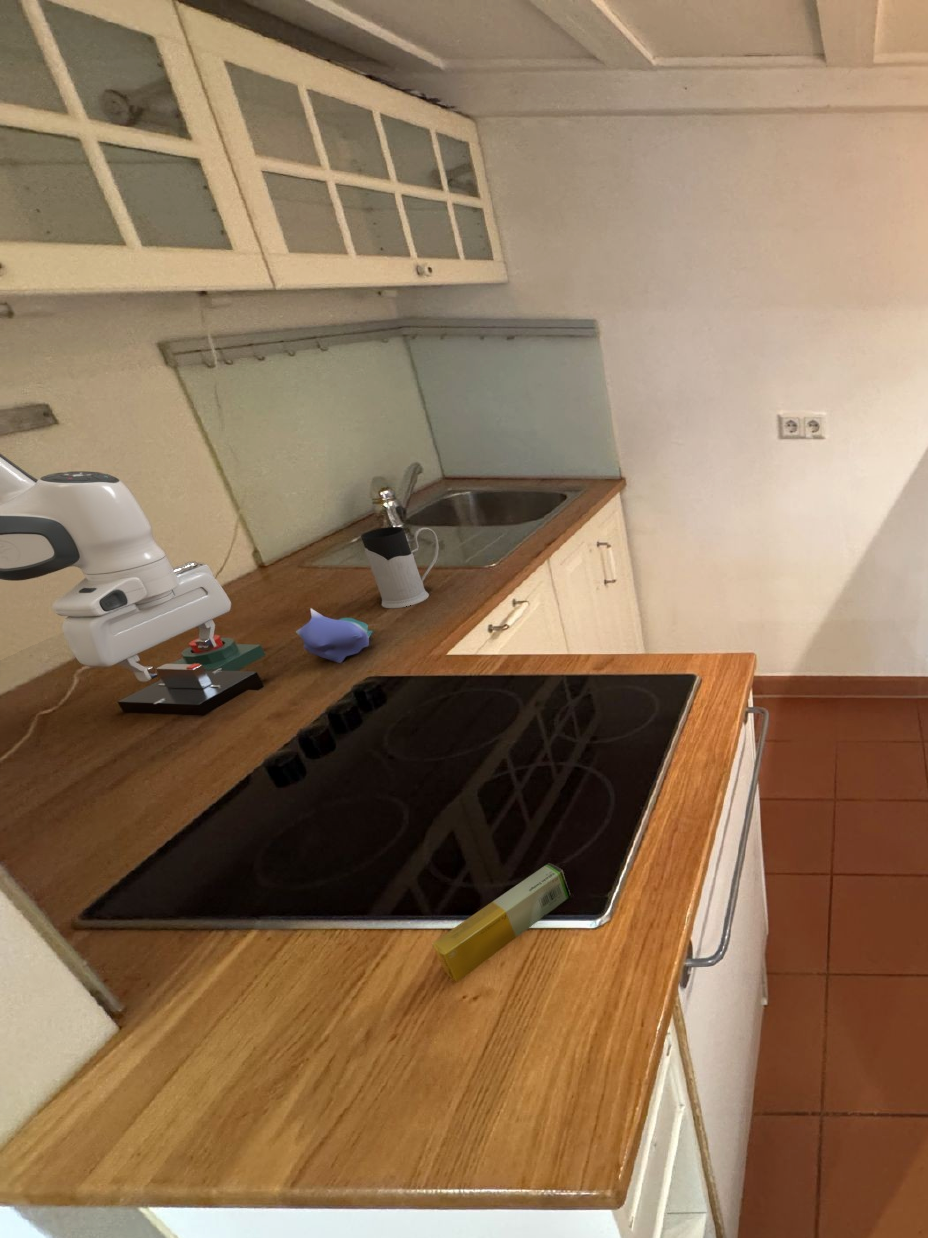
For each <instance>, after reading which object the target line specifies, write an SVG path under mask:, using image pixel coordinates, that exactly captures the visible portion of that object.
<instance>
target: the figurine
mask: <svg viewBox="0 0 928 1238" xmlns="http://www.w3.org/2000/svg"><path fill="white" fill-rule="evenodd" d="M310 615H311V617H310V619H309V621H308V622H307V623H306V624H305V625H303V626H302V627H300V628H298V629H297V630H295V633H296V634H297V636H299V637H300V638H301V639H302V642H303V646H302V647H303V648H304V650H305V651H306V652H308V653H309V654H311V655H313V656H318V657H320V658H323V659H326V660H329V661H332V662H335V663H338V664H342V662H343V661H344V660H345V659H346V657H349V656H353V655H356V654H359V653H360V652H361V651H362V650H363V649H364V648H366V647H369V646H370V637H371V636H372V634H373V632H374V630H368V627H369V625H368V624H367V623H366V622H363V621H360V620H357V619H355V618H353V617H340V618H339V619H334V618H331V617H327V616H324V615H322V614H321V613H319V612H317V611H316V610H315V609H313V608H310Z"/></svg>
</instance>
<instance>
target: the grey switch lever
mask: <svg viewBox="0 0 928 1238" xmlns="http://www.w3.org/2000/svg"><path fill="white" fill-rule="evenodd" d="M155 671H156V673H157V674H158V675H159V677H160V680H161V679H162V681H163V682H164V684H165V686H166V688H196V689H203V688H205V687H207V686H208V685H210V684H212V683H211V681H210V679H209V677H208V675H207V673H206V671H205V669H204V667H203V665H200V664H171V663H164V664H163V665H160V666H158V667H156V668H155Z"/></svg>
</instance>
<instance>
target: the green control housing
mask: <svg viewBox="0 0 928 1238" xmlns="http://www.w3.org/2000/svg"><path fill="white" fill-rule="evenodd" d="M220 638H221V640H222V642H223V646H221V647H219V648H217V649H214V650H211V651H208V652H203V653H194V652H193V650H192V649H191V647H190V646H189V647H186V648H185V649H184V650H183V651H181V653H180V655H181V658H179V659H177V660H175V661H173V662H171V663H170V664H200V665H203V667H204V669H205V670H217V669H219V668H222V669H221V670H222V671H240V670H241V669H243V668H244V667H246V666H248V665H250V664H252V663H254V662H256V661H257V660H259V659H262V658H263V657H265V656H266V653H265V651H264V648H263V647H262V645H261V644H251V643H249V644H247V643H246V644H244V643H242V644H241V643H236V641H235V640H234V639H233V638H232V637H220Z"/></svg>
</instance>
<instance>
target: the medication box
mask: <svg viewBox="0 0 928 1238" xmlns="http://www.w3.org/2000/svg"><path fill="white" fill-rule="evenodd" d="M564 874H565V872H564V870H563V869H561V868H560V867H559V866H557V865H555V864H553V863H551V862H548V863H547V864H545V865H544V866H542V867H541V868H539V869H537V870H536V871H535V872H534V873H532V874H530V875H529V876H528V877H526V878H525V879H523V880H521V881H520V882H519V883H517V884H516V885H515V886H513V887H511V888H510V889H509V890H507V891H506V892H504V893H503V894H501V895H500V896H499V897H497V898H496V899H494V900H493V901H491V902H490V903H488V904H487V905H485V906H484V907H482V908H481V909H480V910H478V911H477V912H475V913H474V914H472V915H471V916H469V917H468V918H466V919H465V920H464V921H462V922H461V923H459V924H458V925H456V926H455V927H453V928H452V929H450V930H449V931H447V932H446V933H445V934H443V935H442V936H440V937H438V938H437V939H436V940H433V942H432V944H431V946H432V948H433V949H434V952H435V954H436V956H437V959H438V961H439V964H440V965H441V967H442V969H443V971H444V973H445V974H446V975H447V976H448V977H449V978H450V979H451V980H452V981H454V982H456V983H457V982H459V981H461V980H462V979H463V978H465V977H466V976H467V975H469V974H470V973H471V972H473V971H474V970H476V968H478V967H479V966H481V965H482V964H483V963H485V962H486V961H487V960H488V959H490V958H492V956H494V955H495V954H497V953H498V952H499V951H501V950H502V949H503V948H504V947H506V946H507V945H508V944H509V943H511V942H513V941H514V940H515V939H516V938H518V937H519V936H520V935H522V934H523V933H524V932H526V931H527V930H528V929H530V928H531V927H532V926H534V925H536V923H538V922H539V921H540V920H542V919H543V918H544V917H546V916H547V915H548V914H550V913H551V912H552V911H554V910H555V909H556V908H558V906H560V905H561V904H563V903H564V902H565V901H567V899H569V898H570V897H571V892H570V889H569V886H568V883H567V881H566V878H565V875H564Z"/></svg>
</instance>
